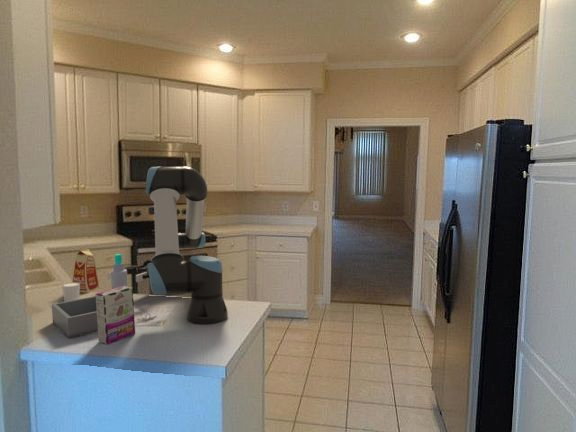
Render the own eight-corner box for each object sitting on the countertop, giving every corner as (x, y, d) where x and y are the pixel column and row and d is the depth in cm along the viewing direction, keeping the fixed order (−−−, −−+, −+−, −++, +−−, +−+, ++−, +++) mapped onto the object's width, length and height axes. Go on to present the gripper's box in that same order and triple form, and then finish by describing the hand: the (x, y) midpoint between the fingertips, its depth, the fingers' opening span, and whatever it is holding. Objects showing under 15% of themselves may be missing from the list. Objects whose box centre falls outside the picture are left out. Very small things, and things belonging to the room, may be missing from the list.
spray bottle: (130, 304, 177) (128, 252, 175) (126, 309, 171) (123, 256, 169) (115, 305, 177) (112, 253, 174) (110, 310, 171) (107, 256, 168)
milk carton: (88, 292, 196) (86, 249, 194) (70, 291, 197) (68, 248, 195) (100, 287, 204) (98, 246, 202) (83, 286, 206) (81, 245, 204)
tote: (118, 326, 153) (117, 307, 152) (68, 338, 142) (67, 318, 141) (99, 312, 168) (98, 295, 167) (52, 322, 157) (51, 304, 156)
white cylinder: (75, 297, 189) (74, 281, 188) (83, 299, 185) (82, 284, 184) (59, 300, 183) (58, 284, 182) (67, 303, 179) (67, 287, 178)
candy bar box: (126, 331, 149) (124, 285, 147) (135, 334, 146) (133, 287, 144) (97, 342, 139) (94, 292, 137) (106, 345, 137) (104, 295, 135)
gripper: (178, 276, 192) (148, 289, 172) (131, 272, 200) (98, 283, 180) (177, 260, 191) (148, 270, 171) (131, 256, 199) (97, 266, 179)
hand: (122, 277), depth 175 cm, fingers open, 13 cm apart
